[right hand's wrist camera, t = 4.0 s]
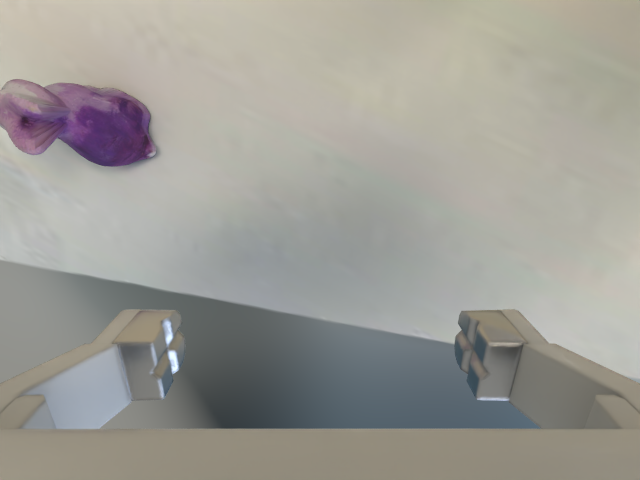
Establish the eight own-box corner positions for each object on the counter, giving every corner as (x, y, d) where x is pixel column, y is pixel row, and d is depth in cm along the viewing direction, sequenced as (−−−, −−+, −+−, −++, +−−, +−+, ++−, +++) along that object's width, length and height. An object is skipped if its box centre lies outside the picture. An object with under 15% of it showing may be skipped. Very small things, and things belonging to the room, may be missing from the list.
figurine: (53, 89, 41) (-84, 85, 27) (137, 71, 40) (41, 57, 26) (87, 170, 44) (-19, 203, 31) (166, 154, 44) (94, 181, 30)
